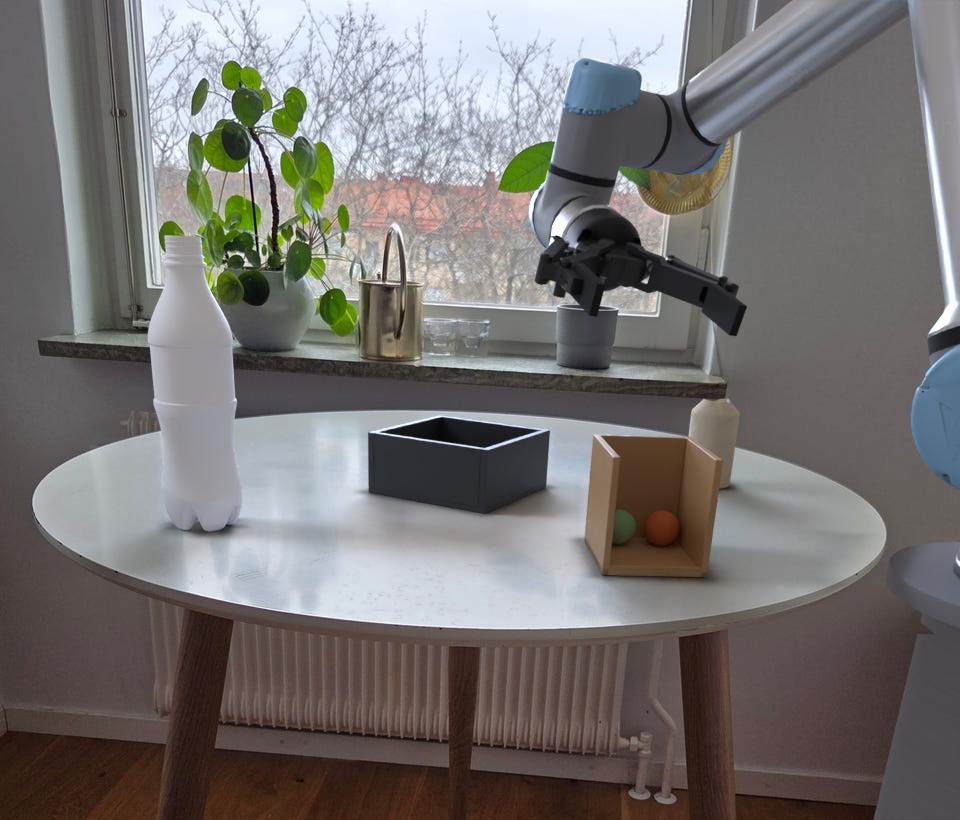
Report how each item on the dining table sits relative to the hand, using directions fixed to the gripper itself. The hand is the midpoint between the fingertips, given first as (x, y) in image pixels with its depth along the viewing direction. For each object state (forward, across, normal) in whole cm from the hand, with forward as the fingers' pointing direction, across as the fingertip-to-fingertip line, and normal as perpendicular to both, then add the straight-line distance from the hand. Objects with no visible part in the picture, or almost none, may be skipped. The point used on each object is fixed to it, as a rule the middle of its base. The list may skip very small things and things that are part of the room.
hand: (669, 311), depth 81 cm
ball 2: (+9, -2, -18) cm, 20 cm away
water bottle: (-3, +38, -26) cm, 47 cm away
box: (+11, +1, -19) cm, 22 cm away
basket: (-15, +11, -26) cm, 32 cm away
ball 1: (+8, +2, -19) cm, 21 cm away
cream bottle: (-16, -19, -24) cm, 34 cm away
